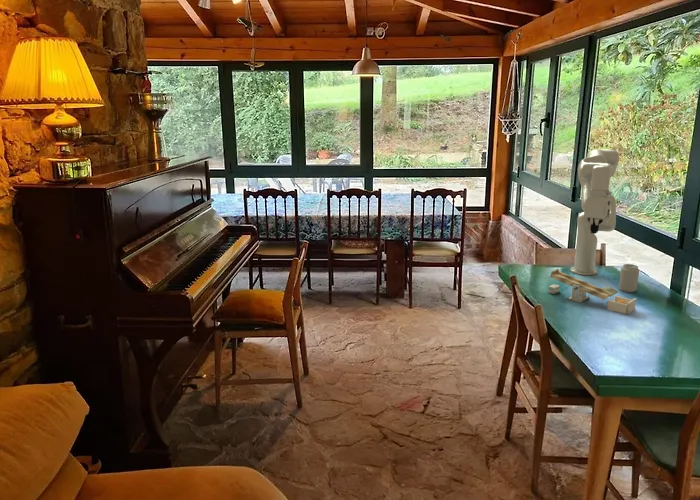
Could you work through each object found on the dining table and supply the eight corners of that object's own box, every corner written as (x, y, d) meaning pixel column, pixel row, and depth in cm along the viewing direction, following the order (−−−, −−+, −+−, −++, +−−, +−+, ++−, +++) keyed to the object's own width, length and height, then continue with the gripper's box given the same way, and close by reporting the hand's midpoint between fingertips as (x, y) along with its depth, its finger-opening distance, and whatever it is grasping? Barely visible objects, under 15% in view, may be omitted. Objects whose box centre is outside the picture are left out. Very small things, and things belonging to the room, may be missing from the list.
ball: (629, 304, 221) (622, 309, 224) (622, 297, 223) (616, 302, 225) (625, 306, 219) (619, 311, 221) (619, 299, 220) (613, 304, 222)
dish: (614, 304, 228) (615, 293, 227) (634, 309, 222) (636, 298, 221) (606, 309, 223) (608, 298, 221) (627, 314, 217) (629, 303, 215)
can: (632, 287, 248) (635, 263, 245) (639, 293, 241) (642, 268, 238) (615, 287, 249) (619, 263, 246) (621, 292, 242) (625, 267, 239)
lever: (550, 276, 240) (551, 271, 239) (563, 270, 249) (565, 265, 248) (605, 300, 224) (607, 294, 223) (617, 292, 233) (619, 286, 232)
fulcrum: (545, 294, 240) (546, 279, 239) (556, 288, 248) (557, 274, 246) (580, 303, 229) (581, 287, 227) (590, 297, 236) (592, 282, 234)
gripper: (619, 194, 233) (614, 234, 238) (585, 190, 243) (581, 228, 248) (612, 196, 228) (607, 237, 233) (578, 192, 238) (574, 231, 243)
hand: (594, 232), depth 240 cm, fingers closed
